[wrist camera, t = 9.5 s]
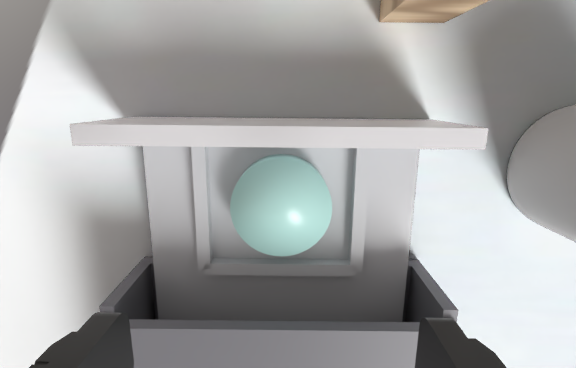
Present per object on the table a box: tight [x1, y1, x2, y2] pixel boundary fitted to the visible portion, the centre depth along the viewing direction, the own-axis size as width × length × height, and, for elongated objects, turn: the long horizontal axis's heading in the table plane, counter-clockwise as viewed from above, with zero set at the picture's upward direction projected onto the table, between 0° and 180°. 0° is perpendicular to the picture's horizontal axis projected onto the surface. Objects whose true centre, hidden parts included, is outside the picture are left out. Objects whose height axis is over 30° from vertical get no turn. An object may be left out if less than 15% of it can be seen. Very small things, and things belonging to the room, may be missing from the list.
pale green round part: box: [230, 154, 332, 256], centre depth 21 cm, size 6×6×2 cm
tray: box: [70, 117, 489, 322], centre depth 21 cm, size 20×16×7 cm
